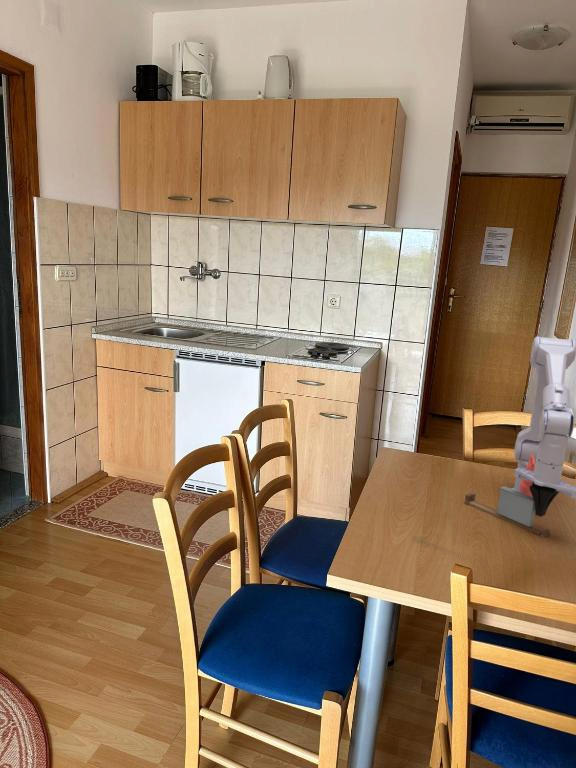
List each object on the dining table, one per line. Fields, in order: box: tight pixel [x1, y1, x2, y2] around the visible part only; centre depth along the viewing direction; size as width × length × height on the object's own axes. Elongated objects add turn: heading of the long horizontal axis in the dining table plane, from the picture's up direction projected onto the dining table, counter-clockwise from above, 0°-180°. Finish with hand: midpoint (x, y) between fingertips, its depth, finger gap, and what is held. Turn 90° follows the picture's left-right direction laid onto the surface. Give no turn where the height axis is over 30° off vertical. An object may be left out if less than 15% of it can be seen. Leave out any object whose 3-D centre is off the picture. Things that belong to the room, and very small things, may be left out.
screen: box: [496, 485, 536, 527], centre depth 133 cm, size 2×9×7 cm, turn 38°
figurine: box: [519, 455, 535, 497], centre depth 139 cm, size 5×5×15 cm
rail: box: [464, 491, 551, 539], centre depth 135 cm, size 3×21×2 cm, turn 38°
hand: (540, 515), depth 128 cm, fingers closed
